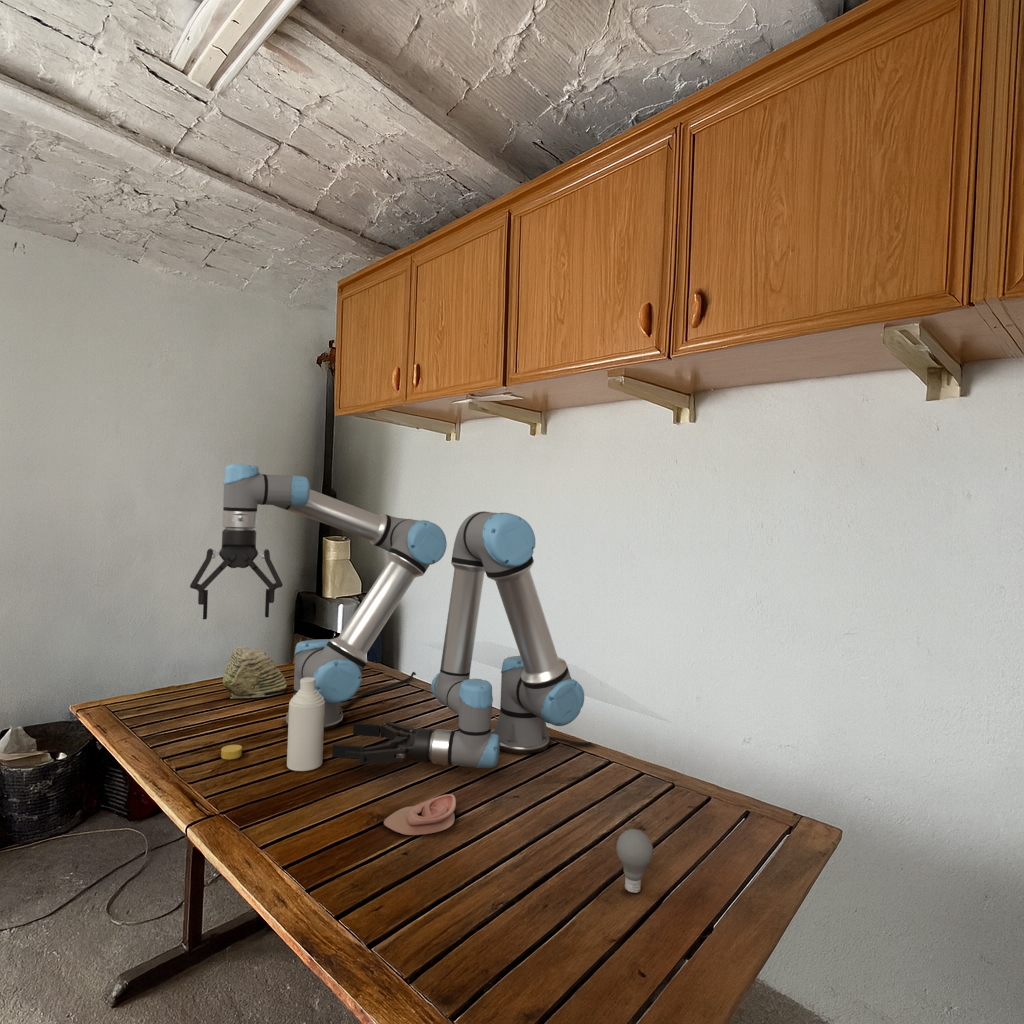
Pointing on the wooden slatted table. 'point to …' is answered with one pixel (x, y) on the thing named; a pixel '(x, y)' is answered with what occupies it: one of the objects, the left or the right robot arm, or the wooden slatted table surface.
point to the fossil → (252, 674)
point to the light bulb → (634, 857)
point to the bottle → (306, 728)
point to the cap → (231, 752)
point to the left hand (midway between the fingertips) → (236, 617)
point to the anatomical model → (424, 816)
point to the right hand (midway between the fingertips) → (343, 739)
